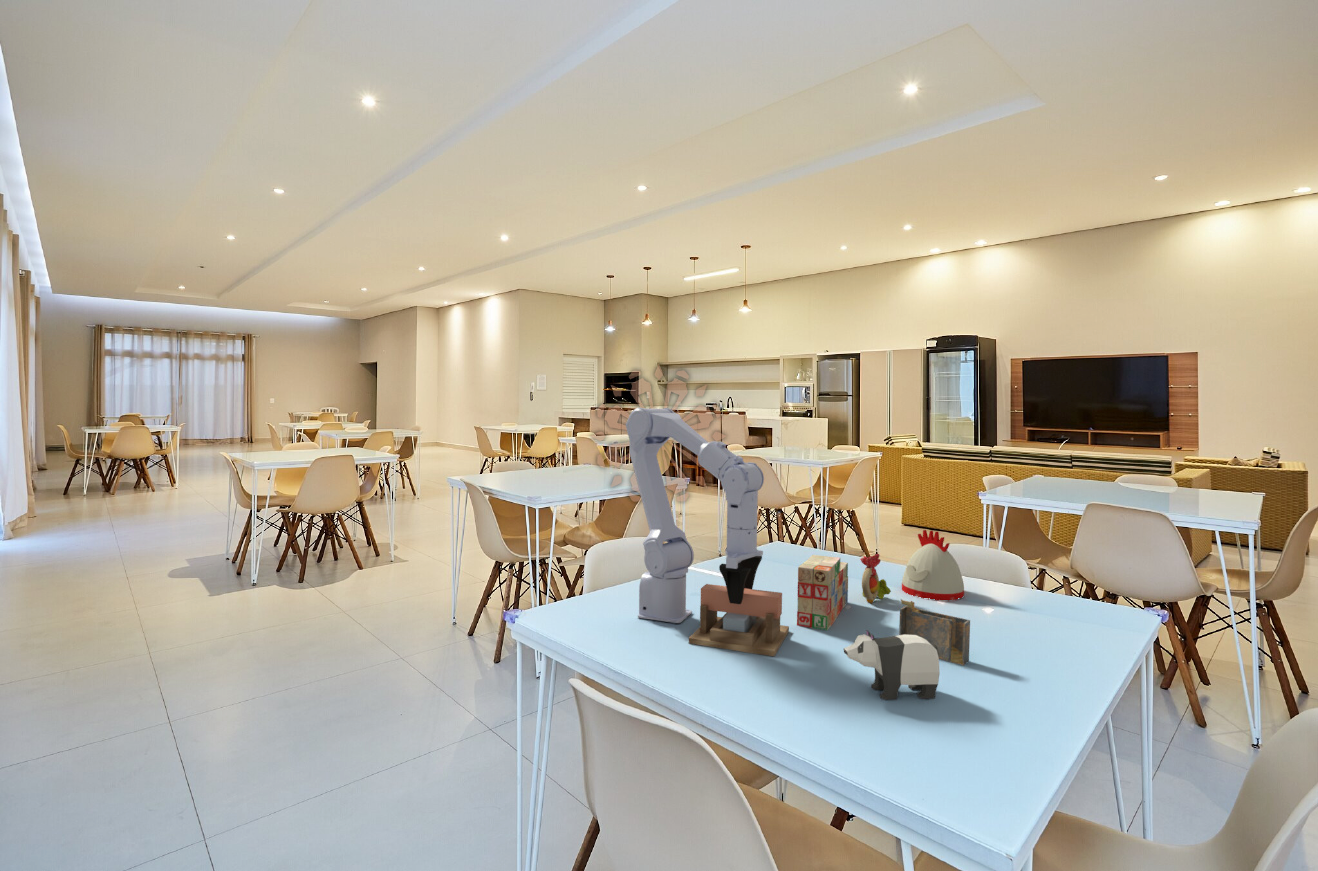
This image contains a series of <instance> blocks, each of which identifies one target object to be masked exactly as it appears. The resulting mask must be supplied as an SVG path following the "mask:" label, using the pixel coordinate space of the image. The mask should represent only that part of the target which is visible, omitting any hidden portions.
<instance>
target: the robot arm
mask: <svg viewBox="0 0 1318 871" xmlns="http://www.w3.org/2000/svg"><path fill="white" fill-rule="evenodd" d="M625 429H626V433H627V436H628V439H629V456H630V459H631V464H632V466H633V468H632V469H633V470H634V475H635V479H636V483H637V487H638V490H639V495H640V498H641V502H642V506H643V509H644V513H645V517H646V518H645V519H646V522H647V525H648V529H649V533H648V535H647V536H646V538H645V539H644V541H643V543H642V544H643V549H644V556H643V558H644V559H643V561H644V565H645V568H646V570H647V571H645V572H644V573H643V574H642V575H641V578H640V582H639V585H638V586H639V589H638V598H639V599H638V614H637V619H645V620H652V621H658V622H666V623H673V624H681V623H682V622H684V621H685V620H686V619H687V618H688V617H689V616H690V615H691V614H692V613H693V611H692V610H691V609H687V608H686V607H687V602H686V601H687V574H688V573H689V568H690V567H691V566H692V564H693V562H694V558H695V553H694V550H693V547H692V545H691V544H690V542H689V541H688V539H687V536H686V533H685V531H683V530H682V529H681V528H679V527H678V526H677V525H676V523H675V520H674V516H673V512H672V509H671V505H670V501H669V496H668V494H667V493H668V492H667V489H666V487H665V482H664V478H663V475H662V470H661V468H660V465H659V464H660V463H659V460H658V457H657V455H658V452H659V451H660V449H661V448H662V447H663V446H664V445H665V444H666V443H667V442H668V441H669V439H673V440H674V441H675V442H678V444H680V445H682V446H683V447H685V448H686V449H687V450H689V451H691V452H692V453H693V454H695V455H696V456H697V462H698V464H699V465H700V466H701V467H702V468H704V469H705V470H706V471H707V472H708V473H710V474H711V475H712V476H713V477H715V478H716V479H717V480H719V481H720V483H721V487H722V489H723V491H724V493H725V501H726V548H725V550H724V551H725V552H724V553H725V556H726V557H725V563H721V564H719V568H718V569H719V572H720V574H721V575H722V578H723V580H724V583H725V586H726V588H727V592H728V597H729V601H730V603H733V604H741V603H742V599H743V594H744V588H746V589H754V583H755V578H756V574H757V571H758V567H759V566H760V563H762V562H761V561H762V560H763V555H764V551H763V550H761V549H760V550H759V549H758V546H757V545H758V501H759V500H758V498H759V497H758V496H759V491H760V490H761V488H762V487H763V485H764V482H765V481H764V480H765V477H764V472H763V471H762V469H761V467H760V466H758V464H757V463H755V462H751V461H750V462H745V461H744V458H743V457H742V456H740V455H737V454H735V453H734V452H732V451H731V450H729V449H728V448H726V446H727V444H726V443H724V442H723V441H716V440H714V441H713V440H712V441H708V440H706V438H704V437H703V436H701V435H700V433H699V432H697V431H696V430H695V429H694V428H692V427H691V426H690V425H689V424H688V423H686V421H684V420H683V419H682V417H681V415H680V414H679V413H676V412H674V410H672V409H671V408H668V407H666V408H644V407H636V408H634V409H633V410H632V411H631V412H630V414H629V416H628V418H627V421H626V423H625ZM664 542H665V543H664Z"/></svg>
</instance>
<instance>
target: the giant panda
mask: <svg viewBox="0 0 1318 871" xmlns="http://www.w3.org/2000/svg"><path fill="white" fill-rule="evenodd" d="M865 631H866V632H865V633H864V634H860V635H857V637H856V638H855V640H854V641H853V643H852V644H850V645H849V646H846V647H844V648H843V653H844V655H846V656H847V658H848V659H849V660H852V661H854V662H856V663H859V664H860V665H862V666H863V667H866V668H867V667H868V668H873V669H874V682H873V683H871V685H870V688H871V689H873V690H875V691H883V692H881V693H880V694H879V698H880V699H881V700H883V701H884V700H885V701H893V700H894V701H895V700H897V699H898V695H899V689H900V688H901V686H908V687H907V688H908V689H910V690H911V691H912V690H913V691H916V690H917V691H919V692H917V694H916V695H917V698H919V699H922V700H926V699H927V700H932V699H935V698H936V693H937V690H938V689H937V688H938V685H939V681H940V675H941V674H940V670H941V669H940V660H939V657H938V655H939V653H938V648H937V646H936V645H935V644H932V643H929V642H928V641H927V640H926V639H924V638H922V637H919V636H917V635H906V634H905V635H899V634H898V635H892V636H884V637H877V638H875V636H874V634H873V633H871V632H870V631H869V630H867V629H866V630H865Z"/></svg>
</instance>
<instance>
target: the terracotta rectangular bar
mask: <svg viewBox="0 0 1318 871" xmlns="http://www.w3.org/2000/svg"><path fill="white" fill-rule="evenodd" d="M702 604H704V605H708V610H712V611H717V612H720V613H721V612H722V613H735V614H742V615H750V616H757V617H765V618H766V614H767V613H774V619H779V617H780V618H781V615H782V614H783V611H782V610H783V592H779V591H770V590H769V591H768V590H761V589H754V588H752V589H746V588H744V594H743V599H742V603H741V604H733V603H730V601H729V597H728V592H727V588H726V585H717V584H709V583H705V584H704V585H703V586H702V587H700V606H701V605H702Z"/></svg>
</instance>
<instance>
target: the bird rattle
mask: <svg viewBox="0 0 1318 871" xmlns="http://www.w3.org/2000/svg"><path fill="white" fill-rule="evenodd" d="M880 556H881V555H880V553H876V554H874V555H872V556H871V555H870V556H868V557H867V556H865V555H864V556H863V557H861V558H860V562H861V563H862V564H863V565H865V566H866V567H865V568H864V571H863V573H862V575H861V576H862V578H861V588H862V593H861V594H862V597H864V598H865V600H866V602H867V604H872V603H873V602H874V601H875V600H876V598H877V597H878V599H879V600H883V599H884V597H885V596H886V595H890V594H891V592H892V590H891V589H890V588H889V587H888V585H887V581H886V579H883V578H881V579H880V578H879V574H878V572H877V569H876V567H878V565H879V564H880V563H881V559H880Z"/></svg>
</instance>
